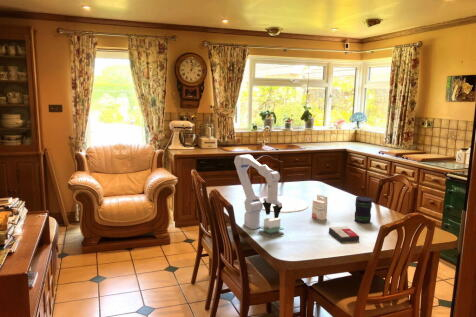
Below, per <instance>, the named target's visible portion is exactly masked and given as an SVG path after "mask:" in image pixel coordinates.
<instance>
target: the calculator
mask: <svg viewBox="0 0 476 317" xmlns="http://www.w3.org/2000/svg"><path fill="white" fill-rule="evenodd" d="M328 234H329V235H330V236H332V237H334V239H335V240H337V241H338V242H340V243H351V242H359V241H360V236H359V235H358V234H357V233H355V232H354V231H353V230H352V229H351V228H349V227H348V226H345V225H342V226H341V225H340V226H331V227H329V228H328Z"/></svg>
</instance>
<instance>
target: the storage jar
mask: <svg viewBox="0 0 476 317" xmlns="http://www.w3.org/2000/svg"><path fill="white" fill-rule="evenodd" d="M372 202H373V198H371V197H368V196H356V197H355V203H354V205H355V211H354V220H353V221H354V222H356V223H357V224H361V225H362V224H364V225H367V224H370V223H371V219H372V206H373V203H372Z"/></svg>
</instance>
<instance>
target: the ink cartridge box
mask: <svg viewBox="0 0 476 317" xmlns="http://www.w3.org/2000/svg"><path fill="white" fill-rule="evenodd" d="M327 214H328V196H324V195H321V194H316V198H315V199H313V200H312V206H311V218H314V219H317V220H318V221H319V220H320V221H324V220H327V217H328V215H327Z"/></svg>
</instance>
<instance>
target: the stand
mask: <svg viewBox="0 0 476 317" xmlns="http://www.w3.org/2000/svg"><path fill="white" fill-rule="evenodd" d="M258 229H261V230H259V231H258V233H259V234H261V235H263V236H265V237H268V238H275V237H278V236H283V235H284V234H285V233H284V232H283V231H284V229H285V228H284V227H282V226H280V228H276V229H271V230H268V229H267V230H266V229H264V225H261V226H259V228H258ZM282 230H283V231H282Z"/></svg>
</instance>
